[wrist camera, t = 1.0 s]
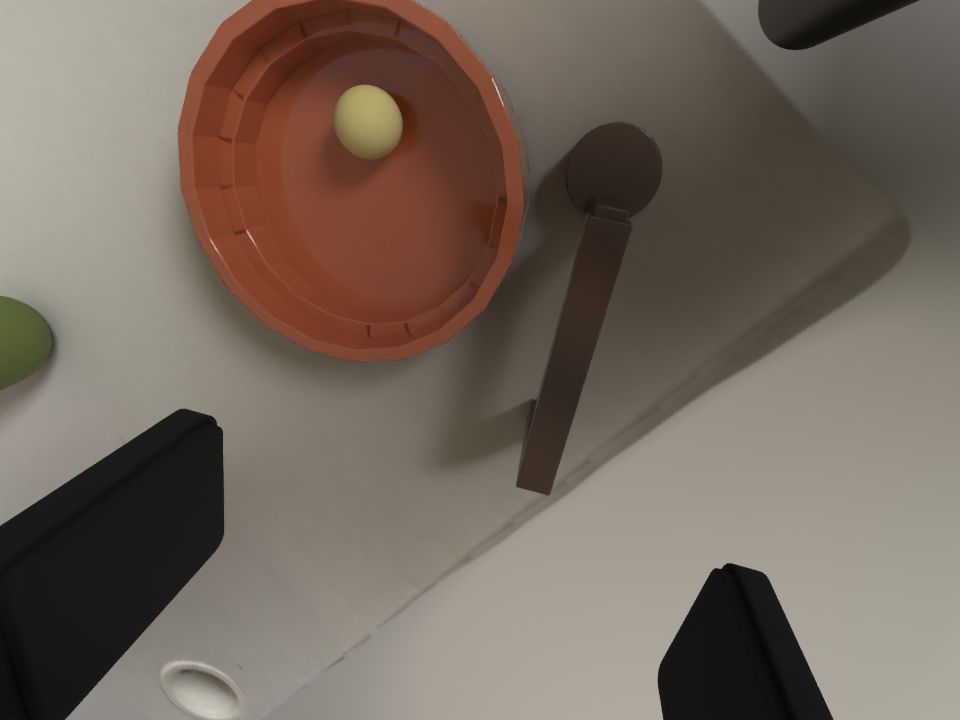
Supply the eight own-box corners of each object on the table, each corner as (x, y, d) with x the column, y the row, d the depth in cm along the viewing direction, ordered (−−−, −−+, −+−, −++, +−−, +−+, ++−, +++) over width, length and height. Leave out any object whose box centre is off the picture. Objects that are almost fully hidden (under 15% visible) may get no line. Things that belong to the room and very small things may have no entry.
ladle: (579, 116, 22) (581, 103, 17) (667, 134, 22) (702, 128, 16) (506, 417, 29) (489, 483, 23) (573, 434, 29) (573, 506, 23)
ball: (414, 95, 23) (393, 87, 20) (407, 164, 24) (385, 166, 21) (352, 83, 23) (323, 73, 20) (347, 152, 24) (319, 152, 21)
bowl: (565, 41, 21) (564, 18, 18) (495, 361, 28) (483, 394, 24) (234, -21, 23) (165, -56, 19) (238, 298, 29) (188, 321, 25)
